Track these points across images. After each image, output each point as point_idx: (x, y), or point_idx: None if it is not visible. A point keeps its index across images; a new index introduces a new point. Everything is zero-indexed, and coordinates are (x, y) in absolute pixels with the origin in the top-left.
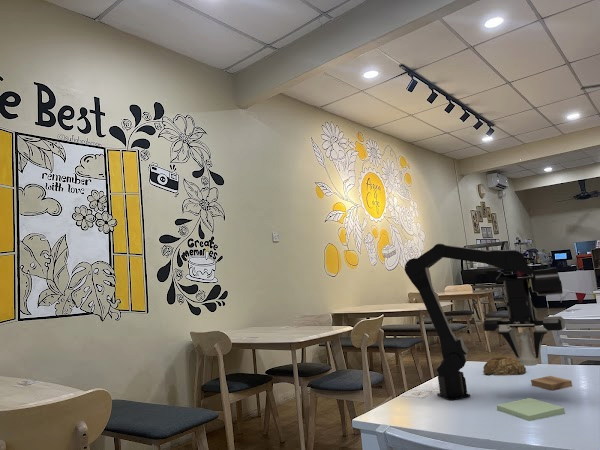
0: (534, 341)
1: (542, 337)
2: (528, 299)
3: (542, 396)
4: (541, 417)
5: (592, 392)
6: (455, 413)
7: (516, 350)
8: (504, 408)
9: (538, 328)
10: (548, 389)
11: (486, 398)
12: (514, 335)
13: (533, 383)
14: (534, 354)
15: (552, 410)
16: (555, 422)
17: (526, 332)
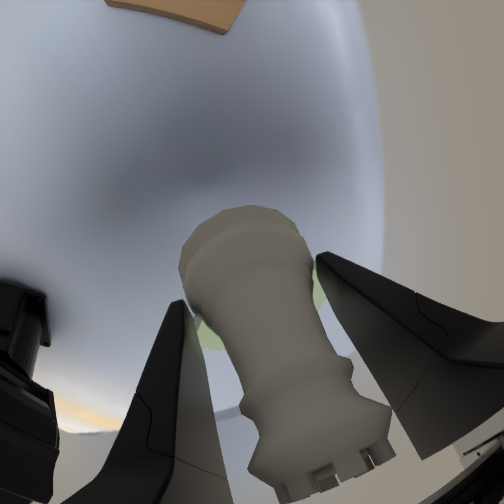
0: (389, 398)
1: (469, 331)
2: None
3: (222, 135)
4: None
5: (356, 17)
6: (129, 379)
7: (206, 375)
8: (218, 348)
9: (476, 446)
10: (202, 27)
11: (79, 271)
12: (179, 479)
13: (118, 5)
14: (313, 285)
15: (321, 304)
16: (322, 312)
17: (365, 465)
